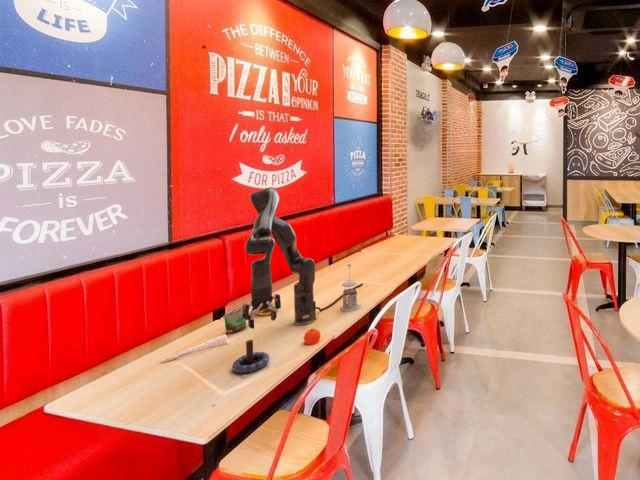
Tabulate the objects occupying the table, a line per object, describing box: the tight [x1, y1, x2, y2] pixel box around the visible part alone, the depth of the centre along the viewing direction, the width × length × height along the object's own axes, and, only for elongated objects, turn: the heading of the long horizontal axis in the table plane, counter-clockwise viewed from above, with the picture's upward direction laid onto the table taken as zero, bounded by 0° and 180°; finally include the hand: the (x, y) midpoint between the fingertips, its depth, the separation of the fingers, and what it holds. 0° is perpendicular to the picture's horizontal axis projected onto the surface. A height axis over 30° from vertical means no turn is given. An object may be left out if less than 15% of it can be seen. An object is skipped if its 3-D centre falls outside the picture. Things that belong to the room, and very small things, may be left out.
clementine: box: [303, 327, 321, 345], centre depth 175 cm, size 8×7×7 cm
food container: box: [222, 306, 247, 335], centre depth 191 cm, size 12×6×10 cm, turn 168°
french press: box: [340, 263, 360, 312], centre depth 215 cm, size 10×12×25 cm
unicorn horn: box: [159, 333, 228, 363], centre depth 168 cm, size 5×24×5 cm, turn 127°
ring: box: [231, 351, 270, 374], centre depth 154 cm, size 13×13×3 cm
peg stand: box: [240, 339, 268, 376], centre depth 154 cm, size 9×9×12 cm
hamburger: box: [257, 299, 279, 316], centre depth 212 cm, size 12×12×9 cm
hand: (262, 324), depth 158 cm, fingers open, 8 cm apart
